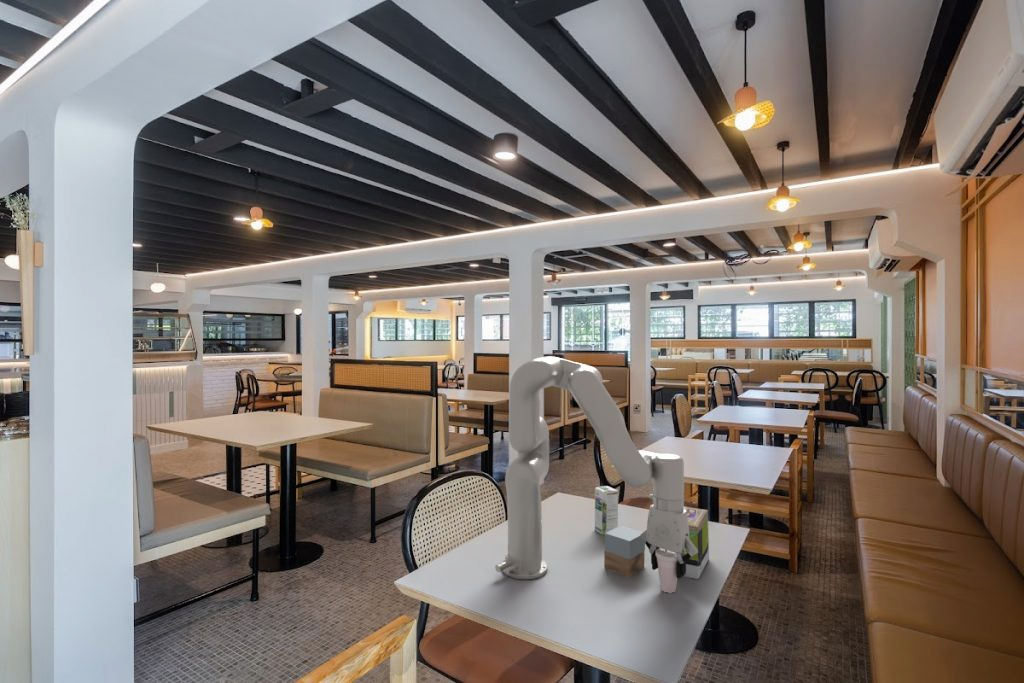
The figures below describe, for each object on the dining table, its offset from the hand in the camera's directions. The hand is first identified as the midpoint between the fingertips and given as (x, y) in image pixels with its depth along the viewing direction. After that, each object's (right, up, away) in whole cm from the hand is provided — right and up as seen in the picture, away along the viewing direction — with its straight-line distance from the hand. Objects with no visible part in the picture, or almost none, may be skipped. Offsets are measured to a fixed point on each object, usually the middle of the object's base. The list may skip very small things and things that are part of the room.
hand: (668, 571), depth 134 cm
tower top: (-8, 0, +13) cm, 15 cm away
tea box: (+9, -5, +14) cm, 17 cm away
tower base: (-9, -5, +13) cm, 16 cm away
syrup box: (-9, -4, +39) cm, 40 cm away
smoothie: (0, -5, 0) cm, 5 cm away
